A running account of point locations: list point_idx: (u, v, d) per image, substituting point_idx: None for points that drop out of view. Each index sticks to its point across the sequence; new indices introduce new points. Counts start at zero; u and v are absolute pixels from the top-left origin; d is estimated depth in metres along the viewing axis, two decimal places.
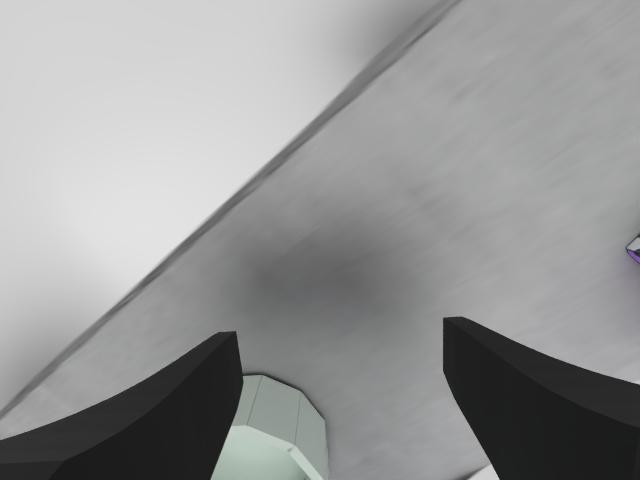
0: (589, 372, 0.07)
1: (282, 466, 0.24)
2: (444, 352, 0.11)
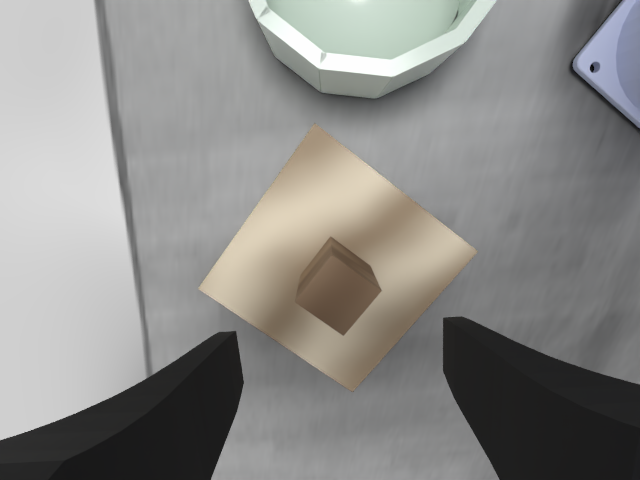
0: (589, 372, 0.07)
1: None
2: (444, 352, 0.11)
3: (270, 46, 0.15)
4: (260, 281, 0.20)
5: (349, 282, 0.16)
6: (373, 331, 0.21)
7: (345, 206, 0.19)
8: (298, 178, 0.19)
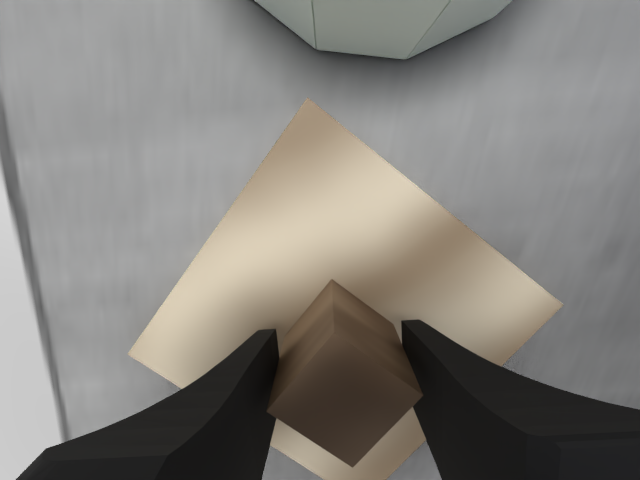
0: (518, 376, 0.07)
1: None
2: None
3: None
4: (222, 345, 0.13)
5: (364, 381, 0.09)
6: None
7: (355, 232, 0.12)
8: (280, 187, 0.12)
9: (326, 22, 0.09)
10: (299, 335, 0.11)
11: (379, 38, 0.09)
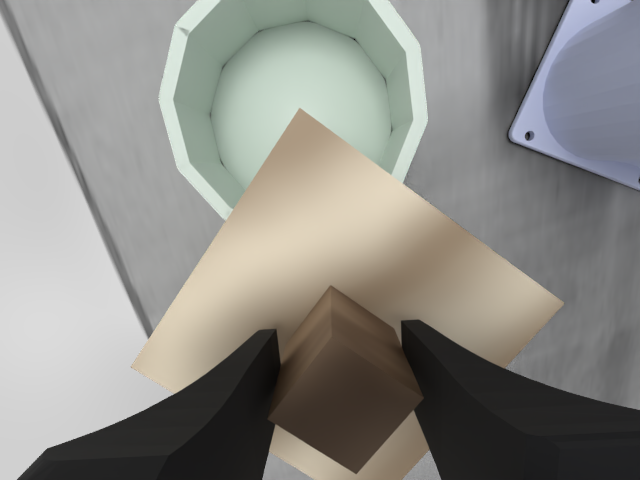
0: (517, 376, 0.07)
1: (351, 99, 0.18)
2: None
3: None
4: (224, 354, 0.13)
5: (364, 385, 0.09)
6: (400, 425, 0.13)
7: (352, 238, 0.12)
8: (276, 196, 0.12)
9: None
10: (299, 342, 0.11)
11: None
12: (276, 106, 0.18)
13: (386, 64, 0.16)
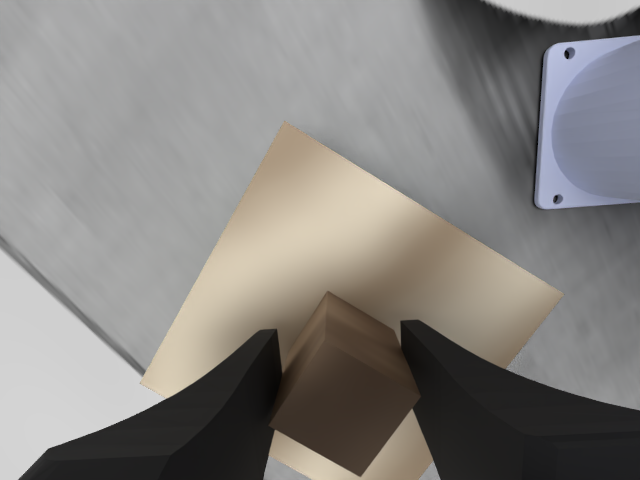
0: (516, 376, 0.07)
1: None
2: None
3: None
4: None
5: (360, 386, 0.09)
6: (409, 428, 0.13)
7: (345, 243, 0.12)
8: (268, 207, 0.12)
9: None
10: (299, 348, 0.11)
11: None
12: None
13: None
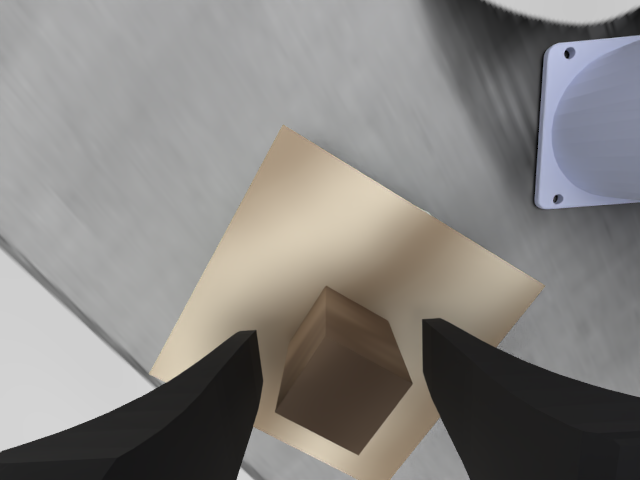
0: (553, 374, 0.07)
1: None
2: (423, 353, 0.11)
3: None
4: None
5: (358, 376, 0.10)
6: (401, 409, 0.15)
7: (342, 241, 0.13)
8: (269, 208, 0.13)
9: None
10: (300, 340, 0.12)
11: None
12: None
13: None
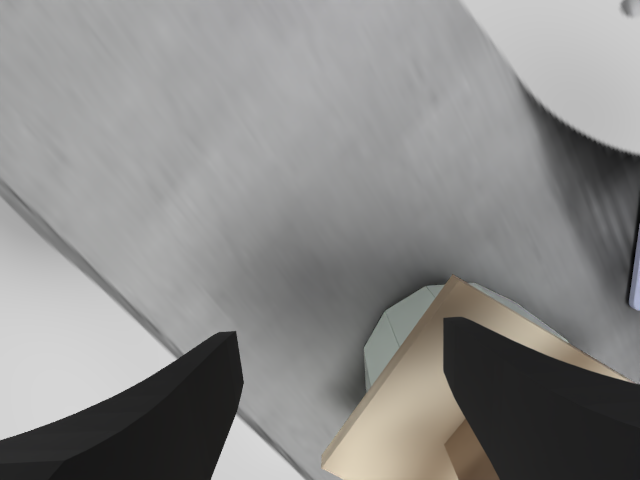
0: (589, 372, 0.07)
1: None
2: (444, 352, 0.11)
3: None
4: (395, 455, 0.17)
5: None
6: None
7: None
8: (440, 342, 0.15)
9: None
10: (472, 455, 0.15)
11: None
12: None
13: None
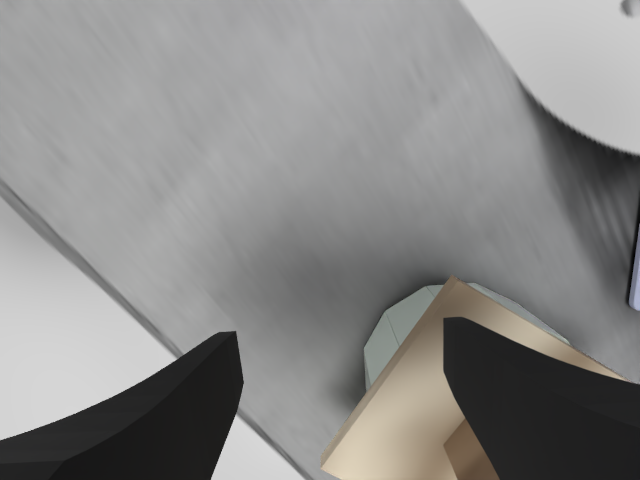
0: (589, 372, 0.07)
1: None
2: (444, 352, 0.11)
3: None
4: (394, 455, 0.17)
5: None
6: None
7: None
8: (439, 342, 0.15)
9: None
10: (471, 456, 0.15)
11: None
12: None
13: None
